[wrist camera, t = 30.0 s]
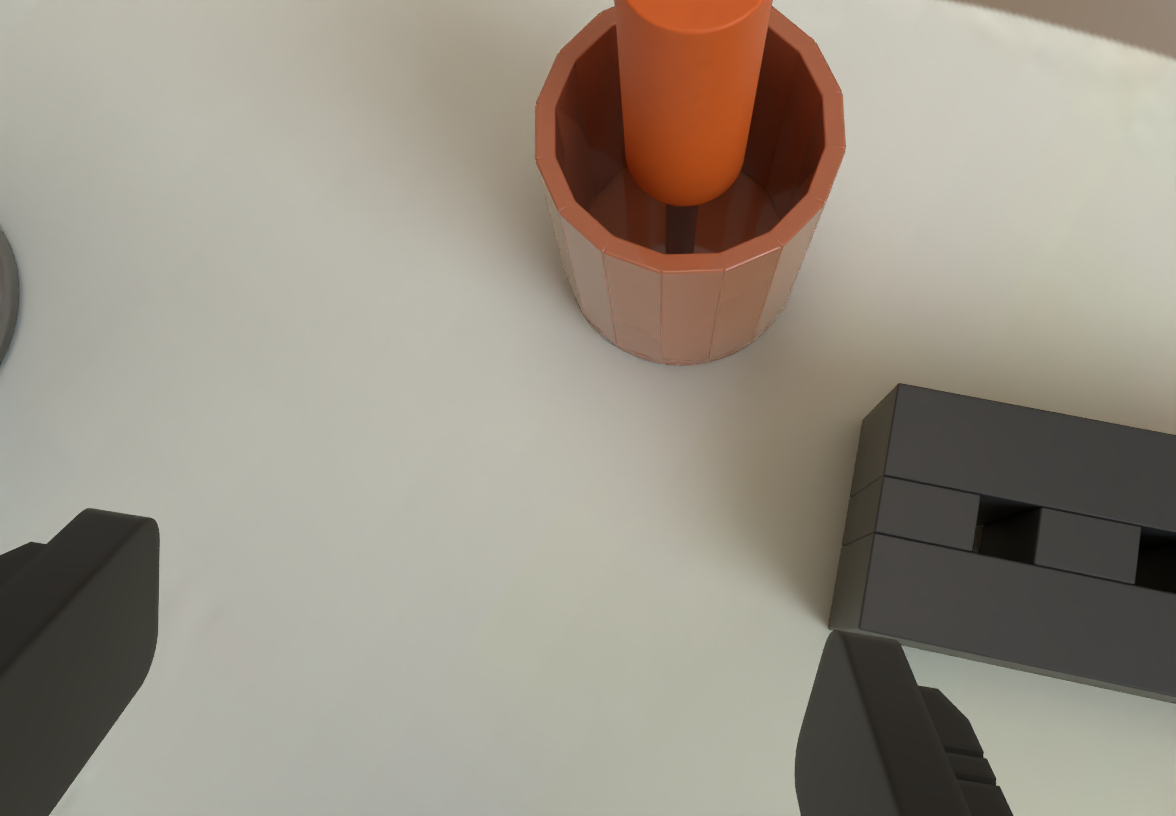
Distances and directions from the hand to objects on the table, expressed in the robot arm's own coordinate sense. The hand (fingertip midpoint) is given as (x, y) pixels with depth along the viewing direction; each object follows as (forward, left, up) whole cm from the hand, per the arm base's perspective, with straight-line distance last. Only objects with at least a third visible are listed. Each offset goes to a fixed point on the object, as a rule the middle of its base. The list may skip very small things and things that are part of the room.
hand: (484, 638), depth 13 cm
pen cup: (+7, +10, -20) cm, 23 cm away
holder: (+14, -4, -20) cm, 25 cm away
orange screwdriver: (+7, +10, -19) cm, 23 cm away
